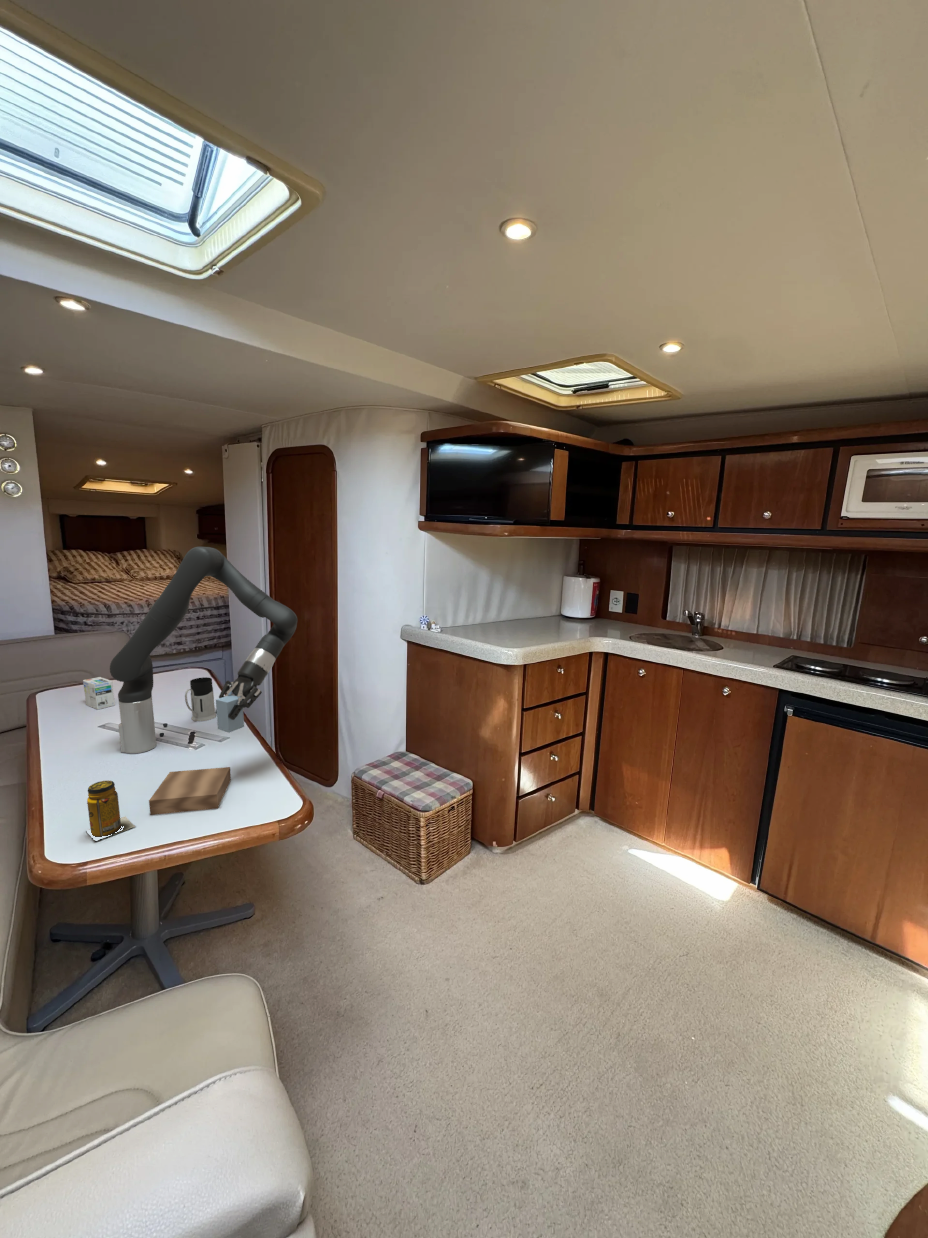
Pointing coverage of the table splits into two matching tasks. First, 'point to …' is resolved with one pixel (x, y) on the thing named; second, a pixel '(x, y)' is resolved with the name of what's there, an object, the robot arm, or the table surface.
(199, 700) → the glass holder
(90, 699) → the light bulb box
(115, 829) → the condiment
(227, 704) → the slate block
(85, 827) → the table surface
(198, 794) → the walnut plinth
